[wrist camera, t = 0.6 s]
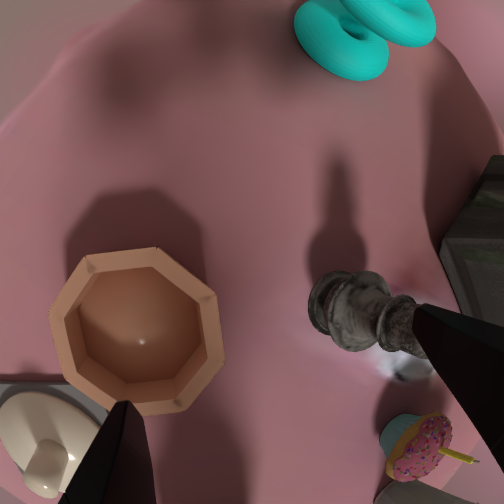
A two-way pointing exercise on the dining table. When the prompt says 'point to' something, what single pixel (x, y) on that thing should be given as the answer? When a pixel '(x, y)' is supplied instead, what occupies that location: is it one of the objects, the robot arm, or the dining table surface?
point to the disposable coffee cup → (415, 494)
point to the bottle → (479, 248)
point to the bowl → (137, 331)
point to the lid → (45, 439)
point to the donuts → (361, 33)
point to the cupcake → (417, 445)
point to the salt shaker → (363, 313)
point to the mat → (60, 389)
